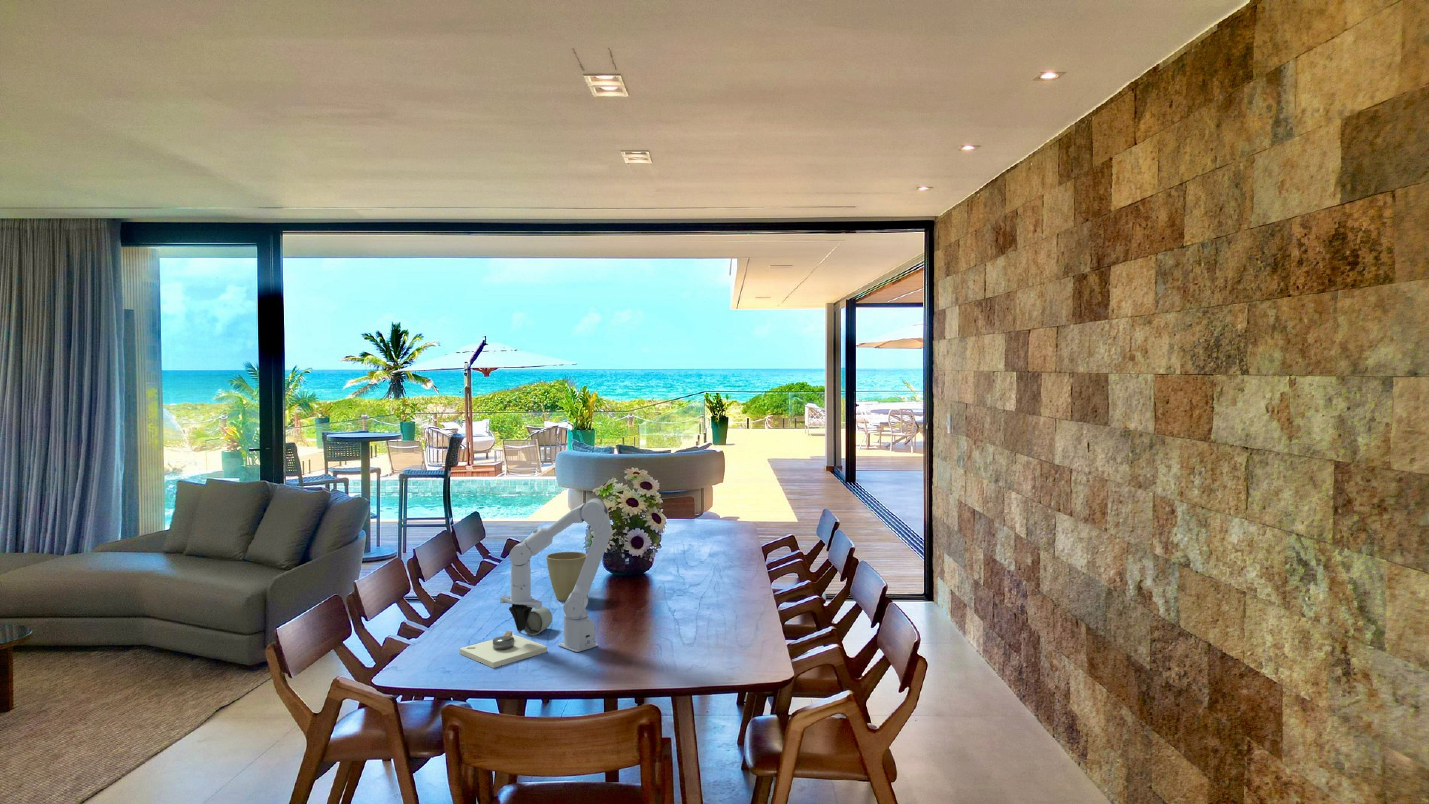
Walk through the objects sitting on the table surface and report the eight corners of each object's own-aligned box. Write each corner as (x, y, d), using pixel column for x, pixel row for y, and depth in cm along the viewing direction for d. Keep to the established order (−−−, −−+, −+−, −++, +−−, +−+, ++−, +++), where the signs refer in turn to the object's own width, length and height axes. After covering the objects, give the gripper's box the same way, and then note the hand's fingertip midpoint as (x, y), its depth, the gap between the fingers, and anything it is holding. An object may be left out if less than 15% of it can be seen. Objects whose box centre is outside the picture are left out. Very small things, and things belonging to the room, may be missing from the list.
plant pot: (583, 603, 279) (583, 559, 278) (542, 603, 279) (542, 559, 279) (591, 593, 294) (590, 551, 293) (551, 593, 294) (551, 551, 294)
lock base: (547, 651, 227) (547, 646, 227) (493, 668, 214) (492, 662, 214) (512, 638, 239) (512, 633, 239) (459, 653, 226) (459, 648, 226)
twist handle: (511, 649, 224) (511, 642, 224) (490, 649, 223) (490, 642, 223) (519, 637, 235) (519, 630, 235) (499, 637, 234) (499, 631, 234)
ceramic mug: (554, 628, 250) (553, 604, 250) (543, 636, 242) (542, 611, 242) (523, 626, 252) (523, 603, 252) (512, 634, 244) (511, 610, 244)
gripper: (548, 584, 232) (548, 629, 232) (511, 578, 238) (511, 622, 239) (532, 589, 225) (533, 635, 226) (495, 583, 232) (495, 628, 232)
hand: (521, 629), depth 232 cm, fingers closed
